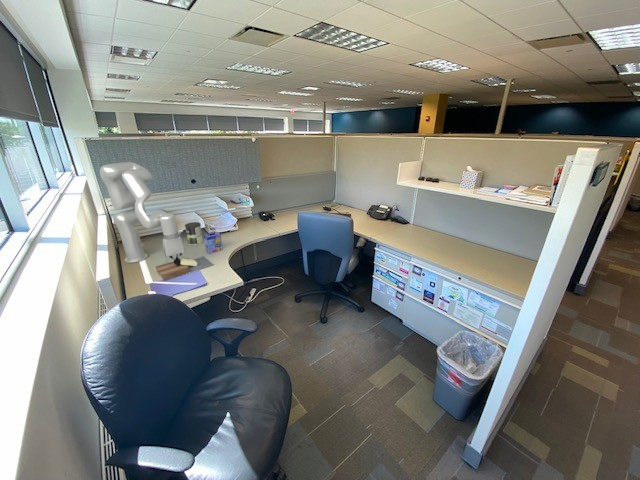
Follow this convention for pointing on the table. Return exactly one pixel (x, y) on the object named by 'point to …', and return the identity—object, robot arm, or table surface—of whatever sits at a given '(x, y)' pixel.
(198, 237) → the coffee can
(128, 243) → the robot arm
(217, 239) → the ink cartridge box
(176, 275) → the block
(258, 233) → the table surface
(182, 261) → the notepad
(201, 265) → the mat
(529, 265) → the table surface
